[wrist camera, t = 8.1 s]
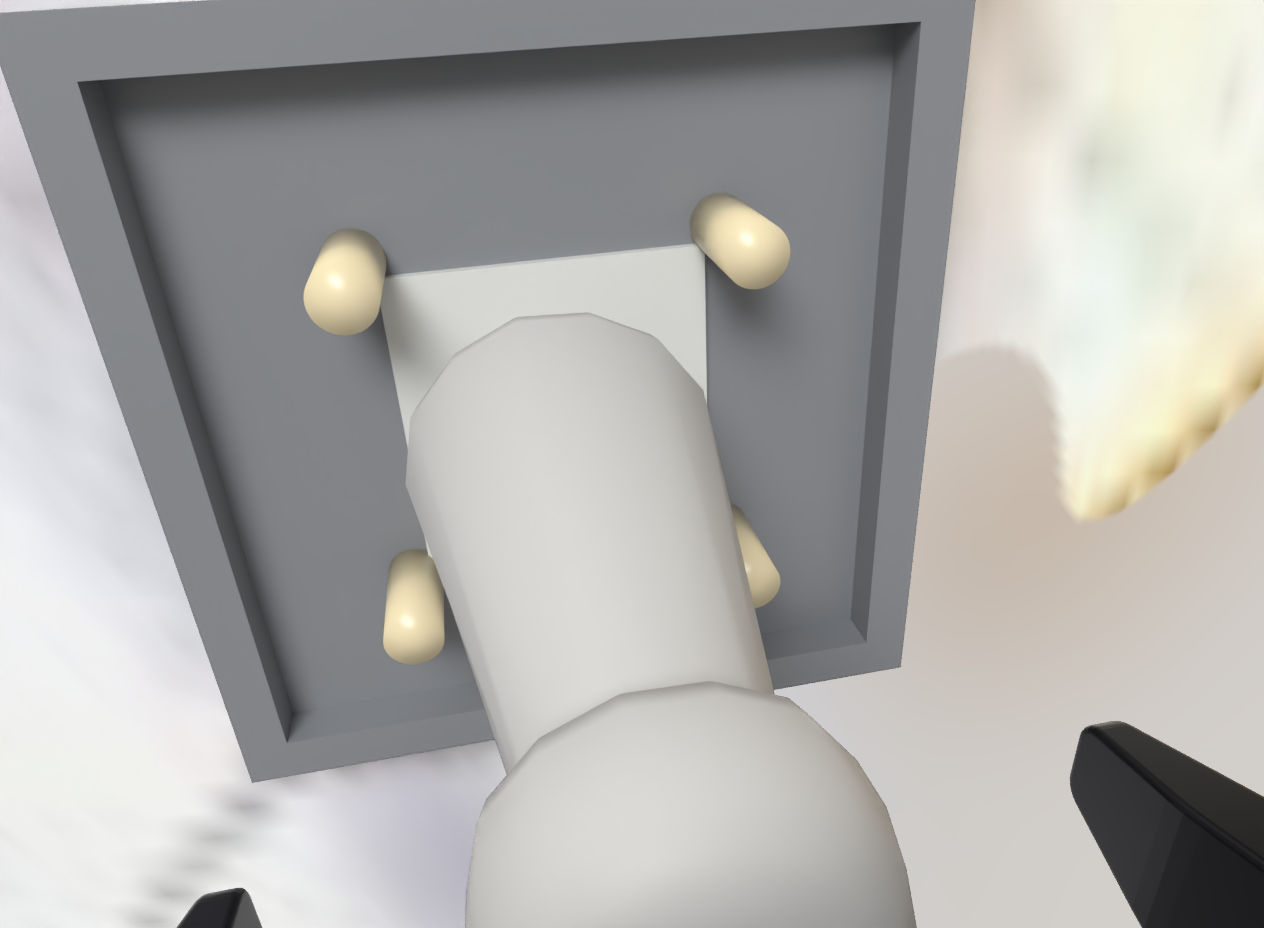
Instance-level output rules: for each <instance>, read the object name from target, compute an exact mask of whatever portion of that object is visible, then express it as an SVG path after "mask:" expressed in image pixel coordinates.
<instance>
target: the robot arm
mask: <svg viewBox="0 0 1264 928" xmlns="http://www.w3.org/2000/svg"><path fill="white" fill-rule="evenodd" d="M1070 786H1071V791H1072V795H1073V798H1074V799H1075V802H1076V804H1077V806H1078V808H1079V810H1080V811H1081V814H1082V815H1083V817H1084V819H1085V821H1086V823H1087V825H1088V827H1089V829H1090V831H1091V833H1092V835H1093V836H1094V838H1095V840H1096V842H1097V844H1098V846H1099V848H1100V850H1101V851H1102V854H1103V855H1104V857H1105V859H1106V861H1107V863H1108V865H1109V866H1110V869H1111V871H1112V873H1113V875H1114V876H1115V878H1116V880H1117V882H1118V884H1119V886H1120V888H1121V890H1122V892H1123V894H1124V896H1125V898H1126V899H1127V901H1128V903H1129V905H1130V907H1131V909H1132V911H1133V912H1134V914H1135V916H1136V918H1137V920H1138V921H1139V923H1140V925H1141V927H1142V928H1264V797H1263V796H1261V795H1259V794H1257V793H1256V792H1254V791H1252V790H1250V789H1248V788H1246V787H1245V786H1243V785H1241V784H1239V783H1237V782H1235V781H1233V780H1231V779H1230V778H1228V777H1226V776H1224V775H1222V774H1220V773H1219V772H1217V771H1215V770H1213V769H1211V768H1209V767H1207V766H1205V765H1204V764H1202V763H1200V762H1198V761H1196V760H1194V759H1192V758H1190V757H1189V756H1187V755H1185V754H1183V753H1181V752H1179V751H1177V750H1176V749H1174V748H1172V747H1170V746H1168V745H1166V744H1164V743H1163V742H1161V741H1159V740H1157V739H1155V738H1153V737H1151V736H1150V735H1148V734H1146V733H1144V732H1142V731H1140V730H1139V729H1137V728H1135V727H1133V726H1131V725H1129V724H1127V723H1124V722H1121V721H1111V722H1106V723H1101V724H1095V725H1091V726H1088V727H1086V728H1085V729H1084V730H1083V731H1082V732H1081V735H1080V738H1079V742H1078V746H1077V750H1076V754H1075V758H1074V762H1073V766H1072V770H1071V775H1070ZM177 928H262V926H261V923H260V921H259V918H258V915H257V913H256V910H255V908H254V905H253V902H252V900H251V897H250V895H249V894H248V892H247V891H246V890H245V889H243V888H234V889H229V890H224V891H218V892H213V893H209V894H206V895H203V896H202V897H200V898H199V899H198V900H197V901H196V902H195V903H194V904H193V906H192V907H191V908H190V910H189V911H188V913H187V914H186V915H185V917H184V918H183V920H182V921H181V922H180V924H179V925H178V926H177Z"/></svg>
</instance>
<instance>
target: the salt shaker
mask: <svg viewBox="0 0 1264 928" xmlns="http://www.w3.org/2000/svg"><path fill="white" fill-rule="evenodd" d="M405 485H406V488H407V490H408V493H409V496H410V498H411V501H412V504H413V506H414V509H415V512H416V514H417V517H418V520H419V522H420V525H421V528H422V530H423V533H424V536H425V539H426V541H427V544H428V547H429V549H430V552H431V555H432V557H433V560H434V563H435V565H436V568H437V571H438V573H439V576H440V579H441V581H442V584H443V587H444V589H445V592H446V595H447V597H448V600H449V603H450V605H451V608H452V611H453V614H454V617H455V620H456V623H457V626H458V629H459V632H460V635H461V638H462V641H463V644H464V647H465V650H466V653H467V656H468V659H469V662H470V665H471V668H472V671H473V674H474V677H475V680H476V683H477V686H478V689H479V692H480V695H481V698H482V701H483V704H484V707H485V710H486V713H487V717H488V720H489V723H490V726H491V729H492V732H493V735H494V738H495V741H496V744H497V747H498V750H499V753H500V756H501V759H502V762H503V765H504V768H505V771H506V774H507V776H506V777H505V778H504V779H503V780H502V782H501V783H500V784H499V785H498V786H497V788H496V789H495V790H494V791H493V792H492V793H491V795H490V796H489V797H488V798H487V799H486V802H485V804H484V807H483V809H482V812H481V814H480V817H479V819H478V822H477V825H476V832H475V838H474V845H473V851H472V858H471V865H470V871H469V878H468V884H467V891H466V912H465V928H917V927H916V922H915V916H914V910H913V904H912V898H911V892H910V886H909V881H908V875H907V870H906V866H905V863H904V860H903V857H902V854H901V851H900V848H899V845H898V841H897V838H896V835H895V832H894V829H893V826H892V823H891V820H890V817H889V813H888V810H887V807H886V806H885V804H884V803H883V801H882V799H881V798H880V796H879V794H878V793H877V791H876V790H875V788H874V787H873V785H872V783H871V782H870V780H869V779H868V777H867V776H866V774H865V772H864V771H863V769H862V768H861V766H860V764H859V763H858V761H857V760H856V759H855V758H854V757H853V756H852V755H851V754H850V753H849V752H848V751H847V750H846V749H845V748H843V747H842V746H841V745H840V744H839V743H838V742H837V741H836V740H835V739H834V738H833V737H832V736H831V735H830V734H829V733H828V732H827V731H825V730H824V729H823V728H822V727H821V726H820V725H819V724H818V723H817V722H816V721H815V720H814V719H813V718H812V717H810V716H809V715H808V714H807V713H806V712H805V711H803V710H802V709H801V708H800V707H799V706H798V705H796V704H795V703H794V702H793V701H791V700H790V699H789V698H786V697H782V696H777V695H775V694H774V690H773V685H772V681H771V677H770V672H769V668H768V664H767V659H766V655H765V651H764V647H763V642H762V638H761V634H760V629H759V625H758V621H757V616H756V612H755V608H754V604H753V599H752V595H751V591H750V586H749V582H748V578H747V573H746V569H745V565H744V561H743V556H742V552H741V548H740V543H739V539H738V535H737V530H736V526H735V522H734V518H733V513H732V509H731V505H730V500H729V496H728V492H727V487H726V483H725V479H724V475H723V470H722V466H721V462H720V457H719V453H718V449H717V445H716V441H715V436H714V432H713V428H712V424H711V420H710V416H709V412H708V408H707V404H706V400H705V396H704V391H703V389H702V388H701V387H700V386H699V385H698V384H697V382H696V381H695V380H694V379H693V378H692V377H691V376H690V375H689V373H688V372H687V371H686V370H685V369H684V368H683V367H682V365H681V364H680V363H679V362H678V361H677V360H676V359H675V357H674V356H673V355H672V354H671V353H670V352H669V351H668V350H667V348H666V347H665V346H664V345H663V344H662V343H661V342H660V340H658V339H657V338H655V337H654V336H652V335H651V334H648V333H645V332H642V331H640V330H637V329H634V328H631V327H628V326H625V325H623V324H620V323H617V322H614V321H611V320H608V319H606V318H603V317H600V316H597V315H594V314H591V313H588V312H585V313H569V314H554V315H539V316H524V317H515V318H514V319H512V320H510V321H509V322H507V323H505V324H504V325H502V326H500V327H499V328H497V329H495V330H494V331H492V332H490V333H489V334H487V335H485V336H484V337H482V338H480V339H479V340H477V341H475V342H474V343H472V344H470V345H469V346H467V347H465V348H464V349H462V350H460V351H459V352H457V353H455V355H454V356H453V357H452V359H451V360H450V361H449V363H448V364H447V366H446V367H445V368H444V370H443V371H442V373H441V374H440V375H439V377H438V378H437V380H436V381H435V382H434V384H433V385H432V387H431V388H430V389H429V391H428V392H427V393H426V395H425V396H424V398H423V399H422V400H421V402H420V403H419V405H418V406H417V407H416V409H415V411H414V413H413V415H412V417H411V419H410V430H409V443H408V456H407V470H406V483H405Z"/></svg>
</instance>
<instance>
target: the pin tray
mask: <svg viewBox="0 0 1264 928" xmlns="http://www.w3.org/2000/svg"><path fill="white" fill-rule="evenodd" d="M975 1H976V0H201V1H185V2H168V3H152V4H135V5H119V6H102V7H86V8H69V9H53V10H36V11H21V12H7V13H0V66H1V69H2V72H3V75H4V78H5V81H6V84H7V86H8V89H9V92H10V95H11V98H12V101H13V103H14V106H15V109H16V112H17V115H18V118H19V121H20V123H21V126H22V129H23V132H24V135H25V138H26V140H27V143H28V146H29V149H30V152H31V155H32V158H33V160H34V163H35V166H36V169H37V172H38V175H39V177H40V180H41V183H42V186H43V189H44V192H45V195H46V197H47V200H48V203H49V206H50V209H51V212H52V214H53V217H54V220H55V223H56V226H57V229H58V232H59V234H60V237H61V240H62V243H63V246H64V249H65V251H66V254H67V257H68V260H69V263H70V266H71V269H72V271H73V274H74V277H75V280H76V283H77V286H78V288H79V291H80V294H81V297H82V300H83V303H84V305H85V308H86V311H87V314H88V317H89V320H90V323H91V325H92V328H93V331H94V334H95V337H96V340H97V342H98V345H99V348H100V351H101V354H102V357H103V360H104V362H105V365H106V368H107V371H108V374H109V377H110V379H111V382H112V385H113V388H114V391H115V394H116V397H117V399H118V402H119V405H120V408H121V411H122V414H123V416H124V419H125V422H126V425H127V428H128V431H129V434H130V436H131V439H132V442H133V445H134V448H135V451H136V453H137V456H138V459H139V462H140V465H141V468H142V471H143V473H144V476H145V479H146V482H147V485H148V488H149V490H150V493H151V496H152V499H153V502H154V505H155V508H156V510H157V513H158V516H159V519H160V522H161V525H162V527H163V530H164V533H165V536H166V539H167V542H168V545H169V547H170V550H171V553H172V556H173V559H174V562H175V564H176V567H177V570H178V573H179V576H180V579H181V582H182V584H183V587H184V590H185V593H186V596H187V599H188V601H189V604H190V607H191V610H192V613H193V616H194V618H195V621H196V624H197V627H198V630H199V633H200V636H201V638H202V641H203V644H204V647H205V650H206V653H207V655H208V658H209V661H210V664H211V667H212V670H213V673H214V675H215V678H216V681H217V684H218V687H219V690H220V692H221V695H222V698H223V701H224V704H225V707H226V710H227V712H228V715H229V718H230V721H231V724H232V727H233V729H234V732H235V735H236V738H237V741H238V744H239V747H240V749H241V752H242V755H243V758H244V761H245V764H246V766H247V769H248V772H249V775H250V778H251V781H252V783H254V782H260V781H265V780H271V779H276V778H282V777H288V776H293V775H299V774H304V773H310V772H316V771H321V770H327V769H332V768H338V767H344V766H349V765H355V764H360V763H366V762H372V761H377V760H383V759H388V758H394V757H400V756H405V755H411V754H416V753H422V752H428V751H433V750H439V749H445V748H450V747H456V746H461V745H467V744H473V743H478V742H484V741H489V740H495V738H494V735H493V732H492V729H491V726H490V723H489V720H488V717H487V713H486V710H485V707H484V704H483V701H482V698H481V695H480V692H479V689H478V686H477V683H476V680H475V677H474V674H473V671H472V668H471V665H470V662H469V659H468V656H467V653H466V650H465V647H464V644H463V641H462V638H461V635H460V632H459V629H458V626H457V623H456V620H455V617H454V614H453V611H452V608H451V605H450V603H449V600H448V597H447V595H446V592H445V589H444V587H443V584H442V581H441V579H440V576H439V573H438V571H437V568H436V565H435V563H434V560H433V557H432V555H431V552H430V549H429V547H428V544H427V541H426V539H425V536H424V533H423V530H422V528H421V525H420V522H419V520H418V517H417V514H416V512H415V509H414V506H413V504H412V501H411V498H410V496H409V493H408V490H407V488H406V485H405V483H406V470H407V456H408V443H409V430H410V419H411V417H412V415H413V413H414V411H415V409H416V407H417V406H418V405H419V403H420V402H421V400H422V399H423V398H424V396H425V395H426V393H427V392H428V391H429V389H430V388H431V387H432V385H433V384H434V382H435V381H436V380H437V378H438V377H439V375H440V374H441V373H442V371H443V370H444V368H445V367H446V366H447V364H448V363H449V361H450V360H451V359H452V357H453V356H454V355H455V353H457V352H459V351H460V350H462V349H464V348H465V347H467V346H469V345H470V344H472V343H474V342H475V341H477V340H479V339H480V338H482V337H484V336H485V335H487V334H489V333H490V332H492V331H494V330H495V329H497V328H499V327H500V326H502V325H504V324H505V323H507V322H509V321H510V320H512V319H514V318H515V317H524V316H539V315H554V314H569V313H585V312H588V313H591V314H594V315H597V316H600V317H603V318H606V319H608V320H611V321H614V322H617V323H620V324H623V325H625V326H628V327H631V328H634V329H637V330H640V331H642V332H645V333H648V334H651V335H652V336H654V337H655V338H657V339H658V340H660V342H661V343H662V344H663V345H664V346H665V347H666V348H667V350H668V351H669V352H670V353H671V354H672V355H673V356H674V357H675V359H676V360H677V361H678V362H679V363H680V364H681V365H682V367H683V368H684V369H685V370H686V371H687V372H688V373H689V375H690V376H691V377H692V378H693V379H694V380H695V381H696V382H697V384H698V385H699V386H700V387H701V388H702V389H703V391H704V396H705V400H706V404H707V408H708V412H709V416H710V420H711V424H712V428H713V432H714V436H715V441H716V445H717V449H718V453H719V457H720V462H721V466H722V470H723V475H724V479H725V483H726V487H727V492H728V496H729V500H730V505H731V509H732V513H733V518H734V522H735V526H736V530H737V535H738V539H739V543H740V548H741V552H742V556H743V561H744V565H745V569H746V573H747V578H748V582H749V586H750V591H751V595H752V599H753V604H754V608H755V612H756V616H757V621H758V625H759V629H760V634H761V638H762V642H763V647H764V651H765V655H766V659H767V664H768V668H769V672H770V677H771V681H772V685H773V690H775V689H781V688H786V687H792V686H798V685H803V684H808V683H815V682H820V681H826V680H831V679H837V678H843V677H848V676H853V675H859V674H865V673H870V672H876V671H881V670H887V669H893V668H899V667H901V658H902V650H903V640H904V631H905V623H906V614H907V605H908V596H909V587H910V578H911V570H912V560H913V552H914V542H915V534H916V524H917V516H918V507H919V499H920V490H921V481H922V472H923V463H924V454H925V445H926V436H927V427H928V418H929V410H930V401H931V391H932V383H933V374H934V365H935V356H936V347H937V339H938V330H939V321H940V312H941V303H942V294H943V285H944V276H945V267H946V259H947V250H948V241H949V232H950V223H951V214H952V205H953V196H954V187H955V179H956V170H957V161H958V152H959V143H960V134H961V125H962V116H963V107H964V99H965V90H966V81H967V72H968V63H969V54H970V45H971V36H972V28H973V19H974V10H975Z"/></svg>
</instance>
